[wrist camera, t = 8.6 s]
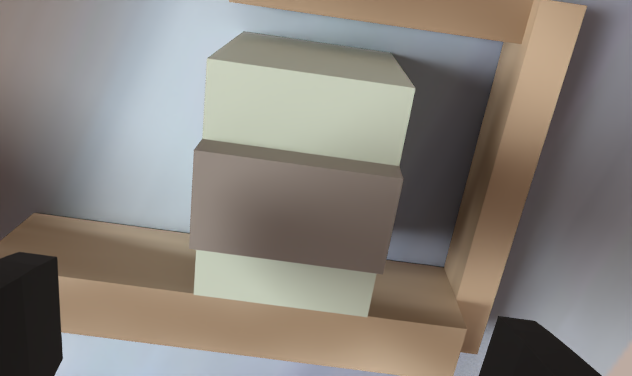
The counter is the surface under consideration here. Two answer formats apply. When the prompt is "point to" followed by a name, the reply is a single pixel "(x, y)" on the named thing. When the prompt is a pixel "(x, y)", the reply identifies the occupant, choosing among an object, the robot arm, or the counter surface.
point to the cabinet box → (297, 172)
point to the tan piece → (398, 277)
